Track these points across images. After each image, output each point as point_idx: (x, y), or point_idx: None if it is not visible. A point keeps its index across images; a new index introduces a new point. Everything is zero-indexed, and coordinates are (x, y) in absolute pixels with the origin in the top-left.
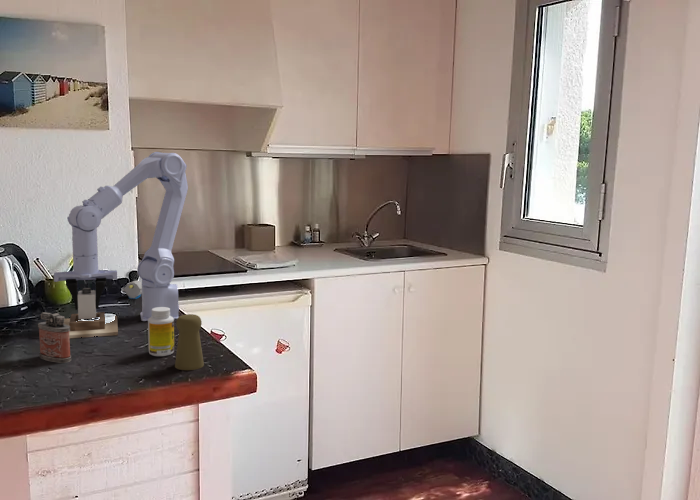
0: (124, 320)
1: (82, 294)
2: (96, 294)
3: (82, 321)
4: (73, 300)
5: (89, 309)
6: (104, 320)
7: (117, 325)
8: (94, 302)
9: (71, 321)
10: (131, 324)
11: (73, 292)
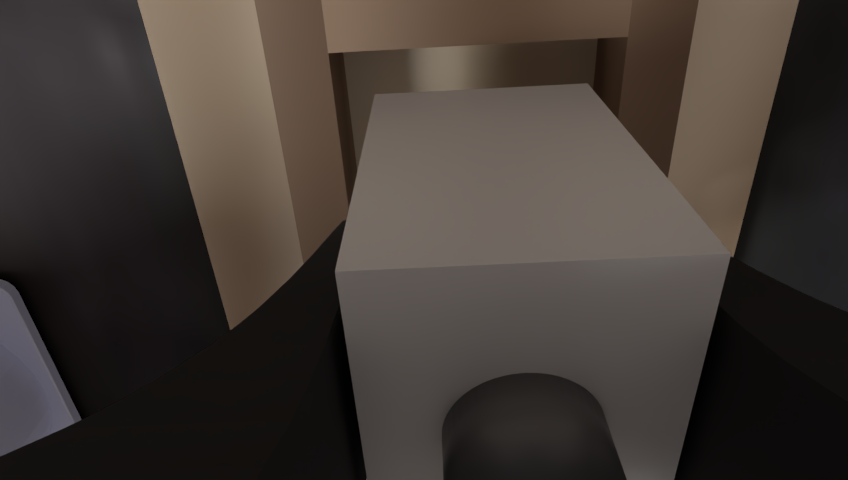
0: (186, 338)
1: (613, 322)
2: (319, 325)
3: (536, 23)
4: (741, 262)
5: (454, 133)
6: (259, 20)
7: (167, 102)
8: (369, 188)
9: (668, 54)
10: (85, 215)
11: (842, 344)
